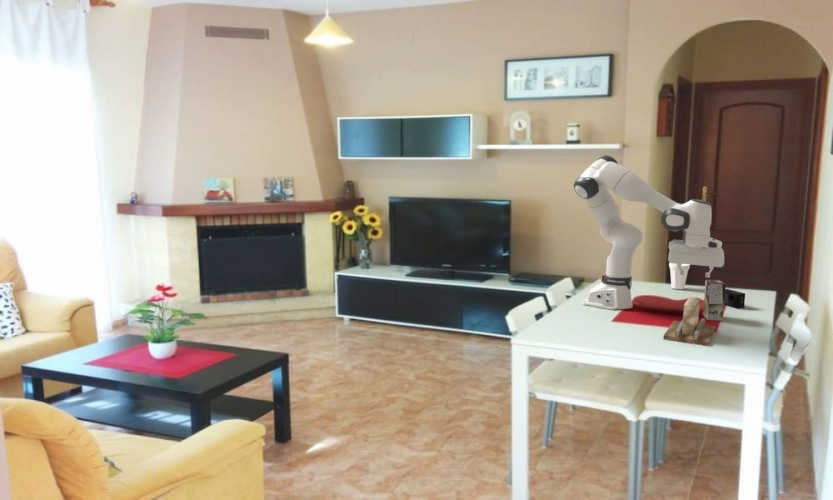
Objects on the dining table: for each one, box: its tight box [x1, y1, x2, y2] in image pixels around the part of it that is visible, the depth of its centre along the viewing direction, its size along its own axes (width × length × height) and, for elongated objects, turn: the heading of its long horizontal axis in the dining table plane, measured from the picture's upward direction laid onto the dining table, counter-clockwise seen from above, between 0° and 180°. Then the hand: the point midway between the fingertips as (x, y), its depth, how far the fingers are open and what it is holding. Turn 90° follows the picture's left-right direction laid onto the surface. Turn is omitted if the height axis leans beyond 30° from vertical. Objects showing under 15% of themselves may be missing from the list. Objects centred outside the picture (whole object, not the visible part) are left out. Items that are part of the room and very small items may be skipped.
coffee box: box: [702, 279, 727, 322], centre depth 286 cm, size 9×6×16 cm
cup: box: [668, 262, 691, 290], centre depth 341 cm, size 10×10×13 cm
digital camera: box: [724, 288, 746, 310], centre depth 308 cm, size 10×5×7 cm, turn 23°
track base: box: [662, 318, 716, 346], centre depth 263 cm, size 16×24×4 cm, turn 150°
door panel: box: [682, 296, 701, 336], centre depth 263 cm, size 4×14×12 cm, turn 150°
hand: (694, 276), depth 261 cm, fingers open, 8 cm apart
